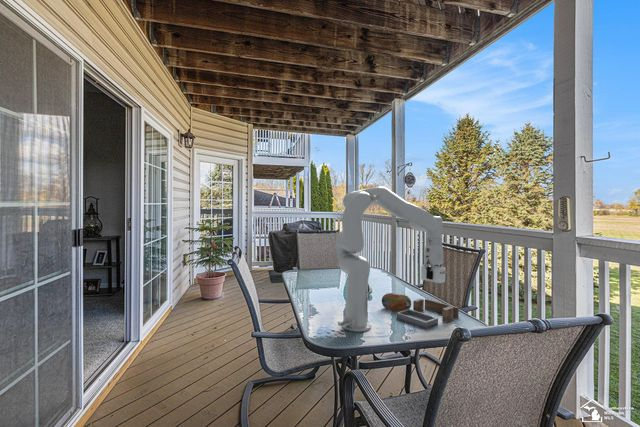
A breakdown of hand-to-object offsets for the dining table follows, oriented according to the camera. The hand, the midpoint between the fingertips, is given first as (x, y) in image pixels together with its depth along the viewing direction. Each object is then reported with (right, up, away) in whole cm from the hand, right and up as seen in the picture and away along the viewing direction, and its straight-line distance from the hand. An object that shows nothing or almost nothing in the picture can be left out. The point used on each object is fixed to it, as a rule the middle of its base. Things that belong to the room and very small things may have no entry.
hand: (432, 277), depth 153 cm
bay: (+2, -19, +2) cm, 19 cm away
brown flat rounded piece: (-16, -19, +9) cm, 26 cm away
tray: (-10, -19, -8) cm, 23 cm away
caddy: (0, -1, 0) cm, 1 cm away
